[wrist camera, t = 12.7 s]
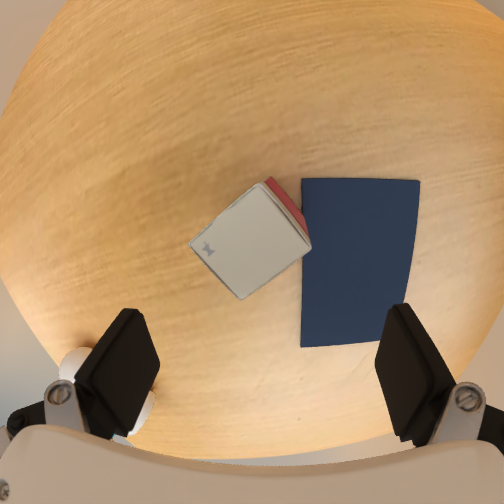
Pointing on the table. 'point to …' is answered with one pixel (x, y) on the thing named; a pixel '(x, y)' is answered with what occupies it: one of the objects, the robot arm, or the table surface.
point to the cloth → (355, 256)
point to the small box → (253, 239)
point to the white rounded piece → (75, 361)
